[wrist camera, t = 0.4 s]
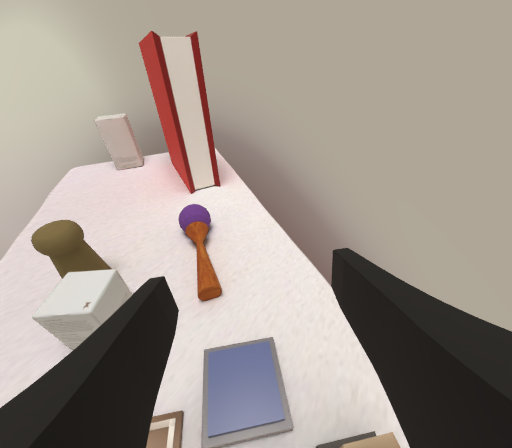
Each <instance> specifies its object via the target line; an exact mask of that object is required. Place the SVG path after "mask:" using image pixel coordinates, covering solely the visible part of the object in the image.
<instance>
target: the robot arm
mask: <svg viewBox="0 0 512 448" xmlns="http://www.w3.org/2000/svg"><path fill="white" fill-rule="evenodd" d="M331 286H332V289H333V291H334V294H335V296H336V299H337V301H338V303H339V306H340V308H341V310H342V312H343V313H344V315H345V317H346V319H347V321H348V322H349V324H350V326H351V328H352V329H353V331H354V333H355V335H356V336H357V338H358V340H359V342H360V344H361V345H362V347H363V349H364V351H365V352H366V354H367V356H368V358H369V359H370V361H371V363H372V365H373V367H374V369H375V371H376V373H377V375H378V377H379V379H380V381H381V383H382V385H383V388H384V390H385V392H386V394H387V396H388V399H389V401H390V403H391V405H392V407H393V410H394V412H395V414H396V416H397V419H398V421H399V423H400V426H401V428H402V430H403V432H404V435H405V437H406V439H407V442H408V444H409V446H410V448H512V332H511V331H509V330H506V329H504V328H501V327H499V326H496V325H493V324H491V323H489V322H486V321H484V320H482V319H479V318H477V317H475V316H473V315H470V314H468V313H466V312H464V311H462V310H459V309H457V308H455V307H453V306H451V305H448V304H446V303H444V302H442V301H440V300H438V299H436V298H434V297H432V296H430V295H428V294H426V293H424V292H423V291H420V290H419V289H417V288H415V287H413V286H411V285H409V284H407V283H405V282H404V281H402V280H400V279H399V278H397V277H395V276H393V275H392V274H390V273H388V272H387V271H385V270H383V269H381V268H380V267H378V266H376V265H375V264H373V263H372V262H370V261H368V260H367V259H365V258H364V257H362V256H360V255H359V254H357V253H355V252H354V251H352V250H350V249H348V248H343V249H336V250H333V262H332V285H331ZM178 312H179V310H178V307H177V305H176V303H175V300H174V298H173V296H172V293H171V291H170V289H169V286H168V284H167V282H166V279H165V277H164V276H163V277H156V278H150V279H149V280H148V281H146V282H145V283H144V284H143V285H142V286H141V287H140V288H139V289H138V290H137V291H136V292H135V293H134V294H133V295H132V296H131V297H130V298H129V299H128V300H127V301H126V302H125V303H124V304H123V305H122V306H121V307H120V308H118V309H117V310H116V311H115V312H114V313H113V314H112V315H111V316H110V317H109V318H108V319H107V320H106V321H105V322H104V323H103V324H102V325H101V326H100V327H98V328H97V329H96V330H95V331H94V332H93V333H92V334H91V335H90V336H89V337H88V338H86V339H85V340H84V341H83V342H82V343H81V344H80V345H79V346H78V347H77V348H75V349H74V350H73V351H72V352H71V353H70V354H68V355H67V356H66V357H65V358H64V359H63V360H61V361H60V362H59V363H58V364H57V365H55V366H54V367H53V368H52V369H50V370H49V371H48V372H47V373H45V374H44V375H43V376H42V377H41V378H39V379H38V380H37V381H36V382H34V383H33V384H32V385H30V386H29V387H28V388H27V389H25V390H24V391H23V392H21V393H20V394H18V395H17V396H16V397H14V398H13V399H12V400H10V401H9V402H8V403H6V404H5V405H4V406H2V407H1V408H0V448H146V446H147V441H148V436H149V431H150V426H151V421H152V416H153V411H154V407H155V403H156V399H157V395H158V391H159V388H160V385H161V381H162V378H163V374H164V371H165V367H166V364H167V361H168V357H169V354H170V350H171V347H172V343H173V339H174V336H175V331H176V325H177V319H178Z"/></svg>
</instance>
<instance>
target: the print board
mask: <svg viewBox="0 0 512 448" xmlns="http://www.w3.org/2000/svg"><path fill="white" fill-rule="evenodd" d="M183 413H184V412H183V411H178V412H173V413H168V414H164V415H159V416H154V417H152V421H151V426H150V431H149V436H148V441H147V446H146V448H181V438H182V425H183Z"/></svg>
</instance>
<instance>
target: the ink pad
mask: <svg viewBox="0 0 512 448" xmlns="http://www.w3.org/2000/svg"><path fill="white" fill-rule="evenodd" d="M292 430H293V425H292V420H291V416H290V411H289V407H288V402H287V398H286V393H285V389H284V385H283V380H282V376H281V371H280V367H279V362H278V358H277V353H276V349H275V344H274V340H273V337H270V338H265V339H259V340H254V341H249V342H243V343H238V344H233V345H227V346H222V347H216V348H211V349H206V350H204V370H203V406H202V442H201V448H220V447H224V446H228V445H232V444H237V443H241V442H245V441H249V440H253V439H258V438H262V437H266V436H270V435H275V434H279V433H283V432H287V431H292Z"/></svg>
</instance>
